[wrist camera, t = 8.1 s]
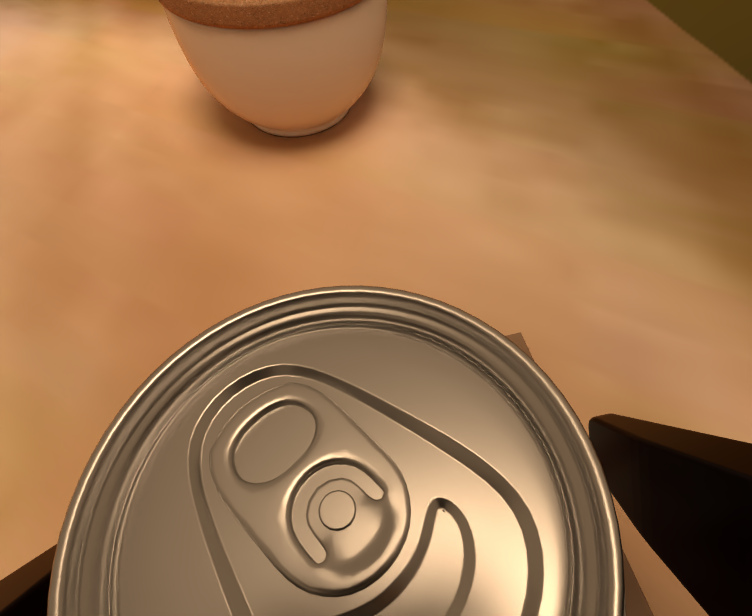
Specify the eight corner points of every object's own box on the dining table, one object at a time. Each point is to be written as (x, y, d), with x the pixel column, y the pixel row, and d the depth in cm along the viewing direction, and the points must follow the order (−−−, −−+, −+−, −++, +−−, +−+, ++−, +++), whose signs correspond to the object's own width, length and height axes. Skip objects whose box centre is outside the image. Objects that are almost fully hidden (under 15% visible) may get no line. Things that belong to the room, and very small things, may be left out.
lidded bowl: (320, 35, 37) (294, -160, 27) (430, 106, 31) (444, -107, 22) (174, 100, 32) (85, -102, 23) (270, 196, 27) (204, -19, 18)
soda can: (390, 818, 12) (271, 1756, 2) (235, 596, 15) (-121, 510, 5) (544, 592, 14) (833, 488, 4) (384, 442, 17) (346, 184, 7)
